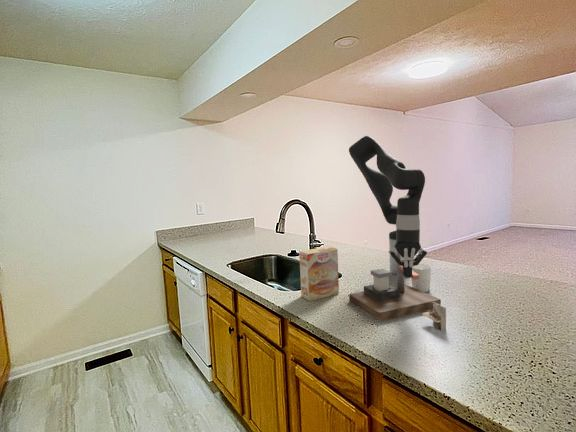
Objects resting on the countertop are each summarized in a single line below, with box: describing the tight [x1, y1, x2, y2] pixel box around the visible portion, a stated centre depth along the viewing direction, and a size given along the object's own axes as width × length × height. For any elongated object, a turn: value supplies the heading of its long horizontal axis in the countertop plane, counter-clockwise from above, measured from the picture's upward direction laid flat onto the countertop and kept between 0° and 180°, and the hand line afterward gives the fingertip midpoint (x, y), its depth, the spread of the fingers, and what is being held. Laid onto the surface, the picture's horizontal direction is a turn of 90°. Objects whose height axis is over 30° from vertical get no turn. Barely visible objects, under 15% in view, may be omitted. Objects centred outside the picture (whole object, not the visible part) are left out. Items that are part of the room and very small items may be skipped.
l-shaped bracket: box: [396, 263, 419, 292], centre depth 121 cm, size 17×3×11 cm, turn 0°
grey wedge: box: [421, 302, 447, 332], centre depth 104 cm, size 3×7×7 cm, turn 16°
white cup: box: [410, 263, 432, 293], centre depth 137 cm, size 8×8×10 cm
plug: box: [370, 268, 392, 291], centre depth 125 cm, size 5×5×10 cm
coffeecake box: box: [298, 245, 340, 302], centre depth 137 cm, size 15×7×20 cm, turn 117°
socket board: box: [348, 283, 442, 322], centre depth 124 cm, size 26×20×6 cm
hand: (407, 277), depth 114 cm, fingers closed
